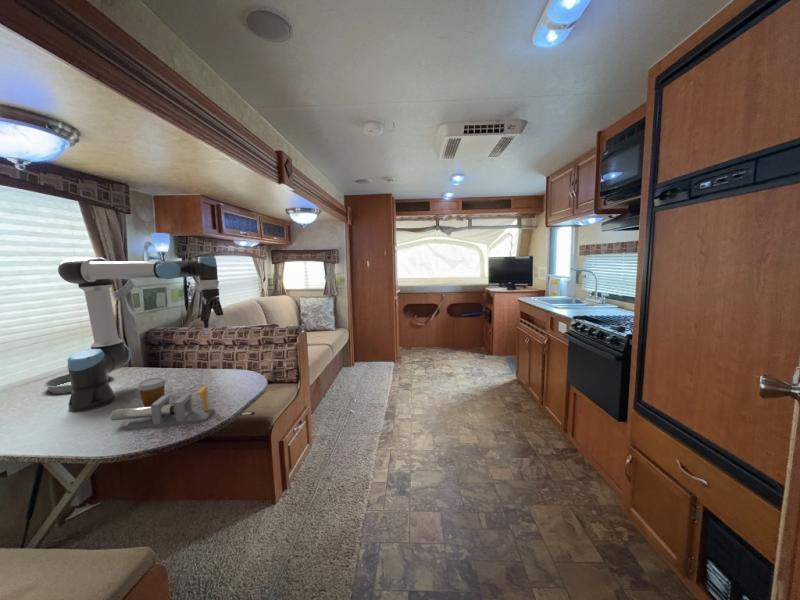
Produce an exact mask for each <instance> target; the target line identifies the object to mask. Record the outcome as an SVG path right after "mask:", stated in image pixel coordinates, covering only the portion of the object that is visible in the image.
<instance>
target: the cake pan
mask: <svg viewBox="0 0 800 600" xmlns="http://www.w3.org/2000/svg"><path fill="white" fill-rule="evenodd" d="M111 374H112V372H110V373H108V374H107V378H108V379H109V376H110V375H111ZM67 382H71V381H70V376H69V373H67V374H64V375H60V376H57V377H55V378H54V377H53V378H51V379H49V380H47V381H46V382H44V387H46V388H47V389H48V390H49V392H50V393H51V392H54V393H53V394H55V393H62V394H68V393H67V392H71V393H72V387H71V385H64V386H57V385H60V384H64V383H67Z"/></svg>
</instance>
